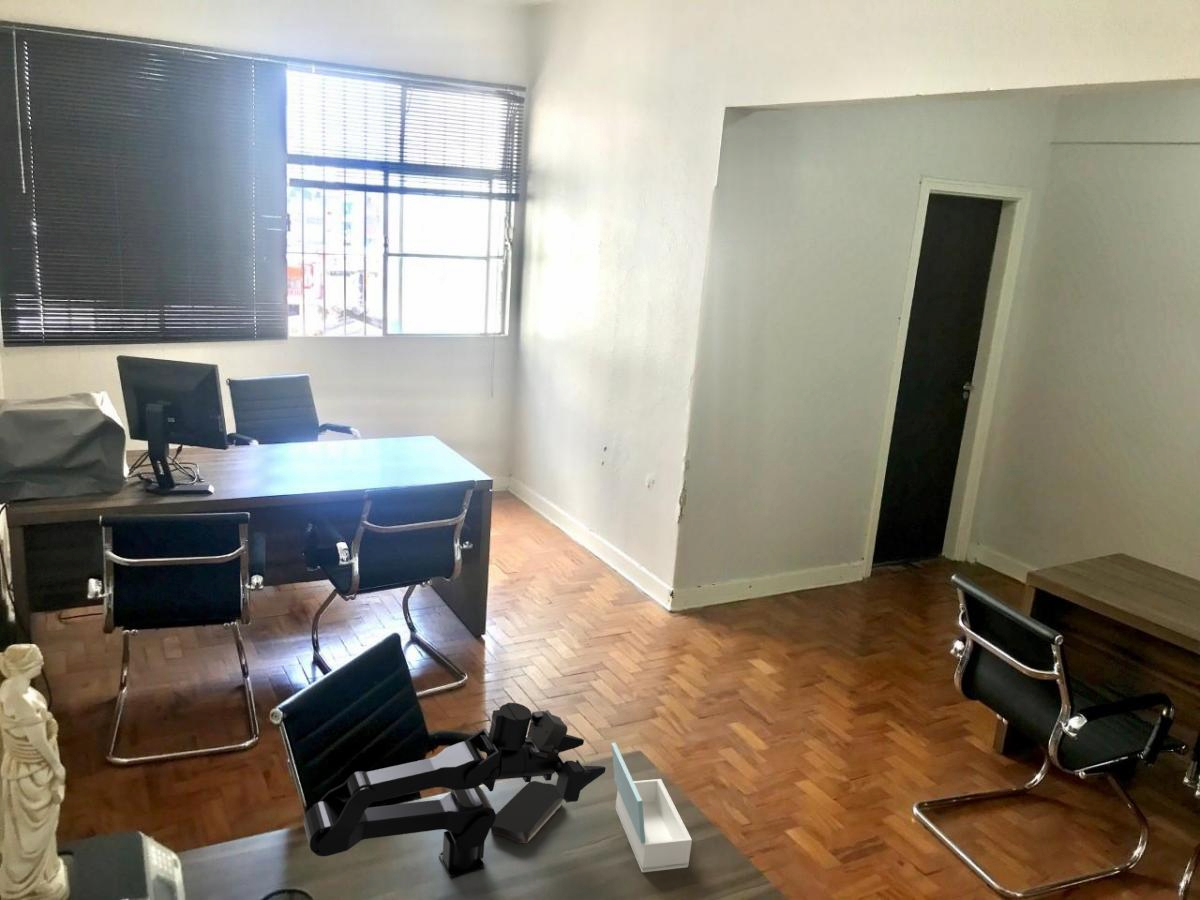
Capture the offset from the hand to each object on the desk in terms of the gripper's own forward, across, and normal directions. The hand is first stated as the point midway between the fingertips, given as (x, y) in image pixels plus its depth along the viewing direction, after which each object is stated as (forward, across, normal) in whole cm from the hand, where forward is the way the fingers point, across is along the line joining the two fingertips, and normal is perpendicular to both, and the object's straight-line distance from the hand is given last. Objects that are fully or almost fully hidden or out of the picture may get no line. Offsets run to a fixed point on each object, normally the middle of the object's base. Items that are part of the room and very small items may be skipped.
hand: (593, 755), depth 168 cm
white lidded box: (+13, -6, +15) cm, 21 cm away
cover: (+6, -5, +5) cm, 9 cm away
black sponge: (-7, +7, +18) cm, 21 cm away
